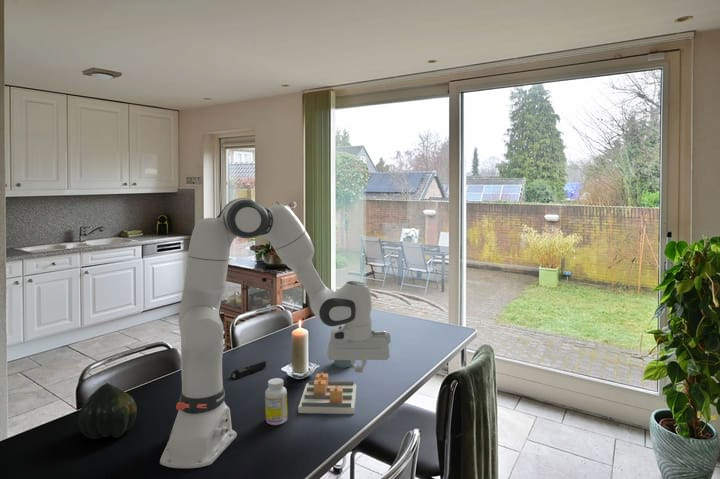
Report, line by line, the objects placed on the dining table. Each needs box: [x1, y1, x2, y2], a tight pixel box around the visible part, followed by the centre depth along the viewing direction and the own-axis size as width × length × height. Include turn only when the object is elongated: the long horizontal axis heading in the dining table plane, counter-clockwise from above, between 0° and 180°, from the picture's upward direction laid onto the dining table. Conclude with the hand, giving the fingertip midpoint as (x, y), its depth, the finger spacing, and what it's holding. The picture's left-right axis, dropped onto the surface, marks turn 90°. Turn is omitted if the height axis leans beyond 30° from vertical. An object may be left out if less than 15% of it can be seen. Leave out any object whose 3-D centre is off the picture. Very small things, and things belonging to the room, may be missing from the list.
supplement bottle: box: [264, 377, 288, 426], centre depth 141 cm, size 7×7×13 cm
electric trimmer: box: [230, 360, 267, 380], centre depth 178 cm, size 4×16×3 cm, turn 139°
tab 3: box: [330, 386, 343, 403], centre depth 149 cm, size 3×4×5 cm
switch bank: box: [297, 380, 357, 415], centre depth 155 cm, size 18×18×3 cm
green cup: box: [333, 360, 353, 369], centre depth 187 cm, size 10×10×12 cm
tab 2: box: [313, 379, 327, 395], centre depth 154 cm, size 3×4×5 cm
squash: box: [77, 382, 138, 440], centre depth 134 cm, size 14×15×15 cm
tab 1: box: [315, 371, 329, 388], centre depth 160 cm, size 3×4×5 cm
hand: (358, 372), depth 148 cm, fingers closed
